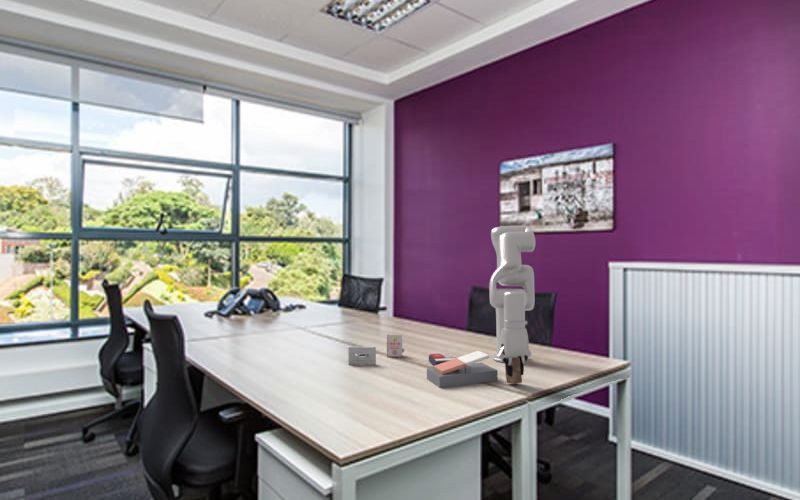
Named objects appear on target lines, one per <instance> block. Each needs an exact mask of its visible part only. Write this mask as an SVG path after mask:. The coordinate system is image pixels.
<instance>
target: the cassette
mask: <svg viewBox="0 0 800 500" xmlns="http://www.w3.org/2000/svg"><path fill="white" fill-rule="evenodd" d="M376 348H377V347H376V346H349V347H348V349H347V351H348V365H349V366H350V365H353V366H376V364H377V354H376V353H377V349H376ZM362 354H363V355H362Z"/></svg>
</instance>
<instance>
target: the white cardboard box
mask: <svg viewBox="0 0 800 500" xmlns="http://www.w3.org/2000/svg"><path fill="white" fill-rule="evenodd" d="M386 336H387V337H386V357H387V358H402V357H403V336H402V334H387V335H386Z"/></svg>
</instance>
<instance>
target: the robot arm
mask: <svg viewBox="0 0 800 500" xmlns="http://www.w3.org/2000/svg"><path fill="white" fill-rule="evenodd" d="M490 238H491V243H492V246H493V249H494V250H495V253H496V269H495V271H493V273H492V275H491V277H490V279H489V284H488V289H489V304H490V305H491V307H493V308H494V309H495V318H496V319H495V320H496V321H495V322H496V325H495V326H496V354H494V355H493V356H492V359H493V360H494V361H496V362H499V363H504V365H505V364H506V370H505V375H506V374H507V375H508V376H513V366H512V365H511V361H512V357H520V368H521V376H524V372H525V370H524V369H525V366H524V365H526V362H527V360H528V358H530V357H531V356H532V352H531V350H530V344H529V343H530V341H529V335H528V330H527V328H526V325H528V321H527V320H526V311H532V310H533V309H534V308H535V301H536V300H535V299H536V297H535V273H534V269H533V267H532V266H530V265H528V264H522V253H532V252H534V250H535V248H536V236H535V234H534V231H533V229H532V228H531V227H530V225H529V226H528V225H500V226H497V227H493V228H492V229H491V231H490ZM497 283H498V284H499V285H500V286H503V287H504V286H505V287H522V288H523V289H522V288H497Z"/></svg>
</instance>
